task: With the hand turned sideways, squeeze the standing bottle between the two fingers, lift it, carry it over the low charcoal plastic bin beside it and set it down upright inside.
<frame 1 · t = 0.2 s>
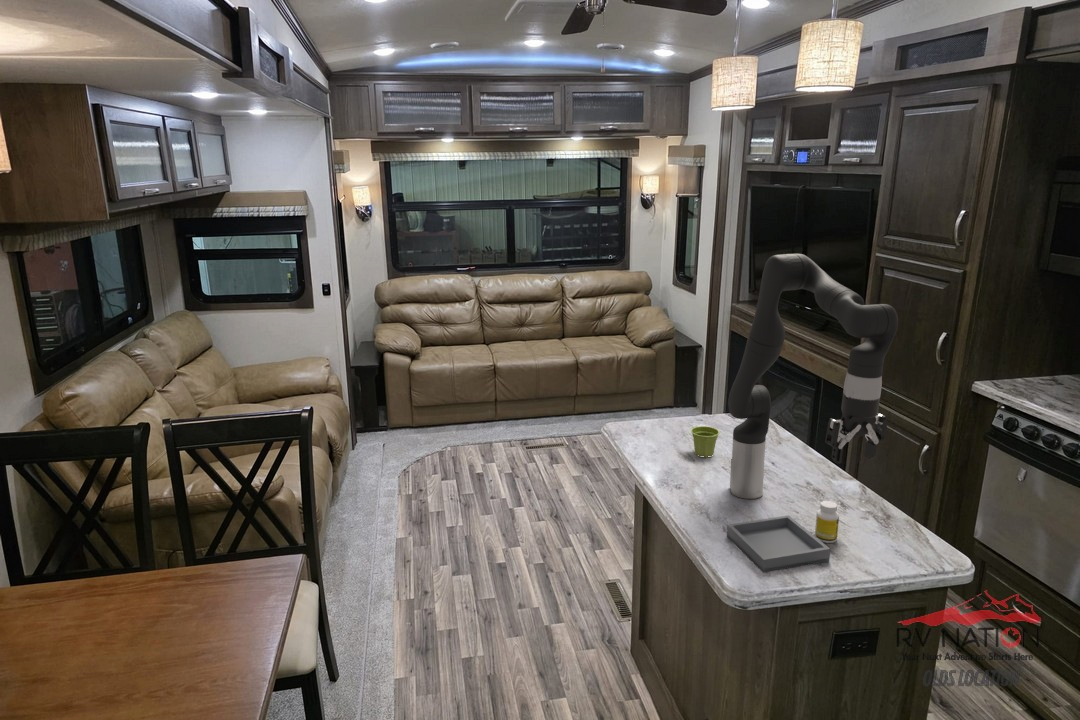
hand: (852, 459, 159), 29 cm above the table, tool pointing down, fingers open, 8 cm apart
plant pot: (704, 455, 237), on the table
supplement bottle: (825, 539, 182), on the table
bin: (776, 548, 178), on the table
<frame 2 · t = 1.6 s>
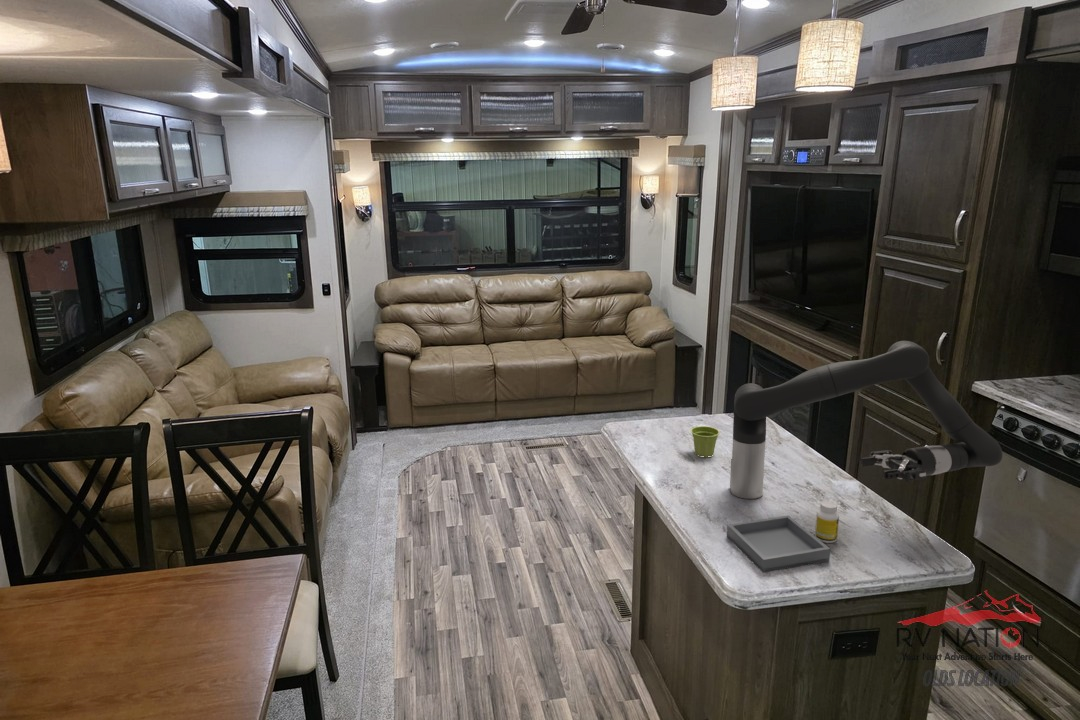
hand: (872, 468, 179), 18 cm above the table, tool horizontal, fingers open, 8 cm apart
nothing on the table moved.
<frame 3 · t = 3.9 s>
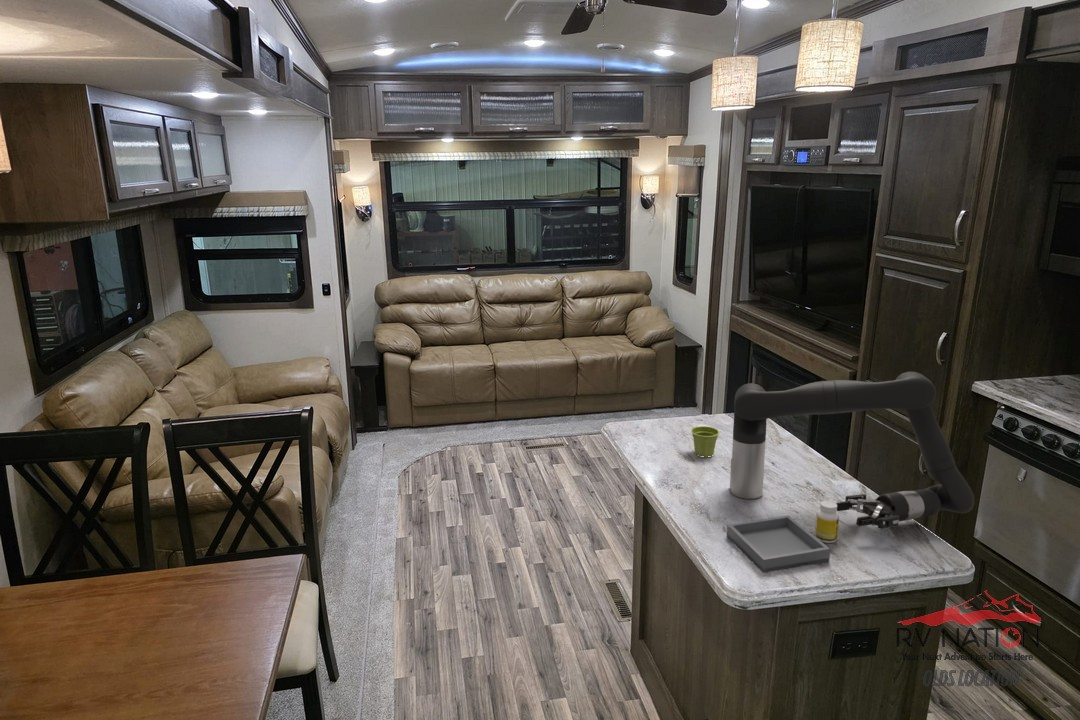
hand: (846, 514, 181), 6 cm above the table, tool horizontal, fingers open, 8 cm apart
nothing on the table moved.
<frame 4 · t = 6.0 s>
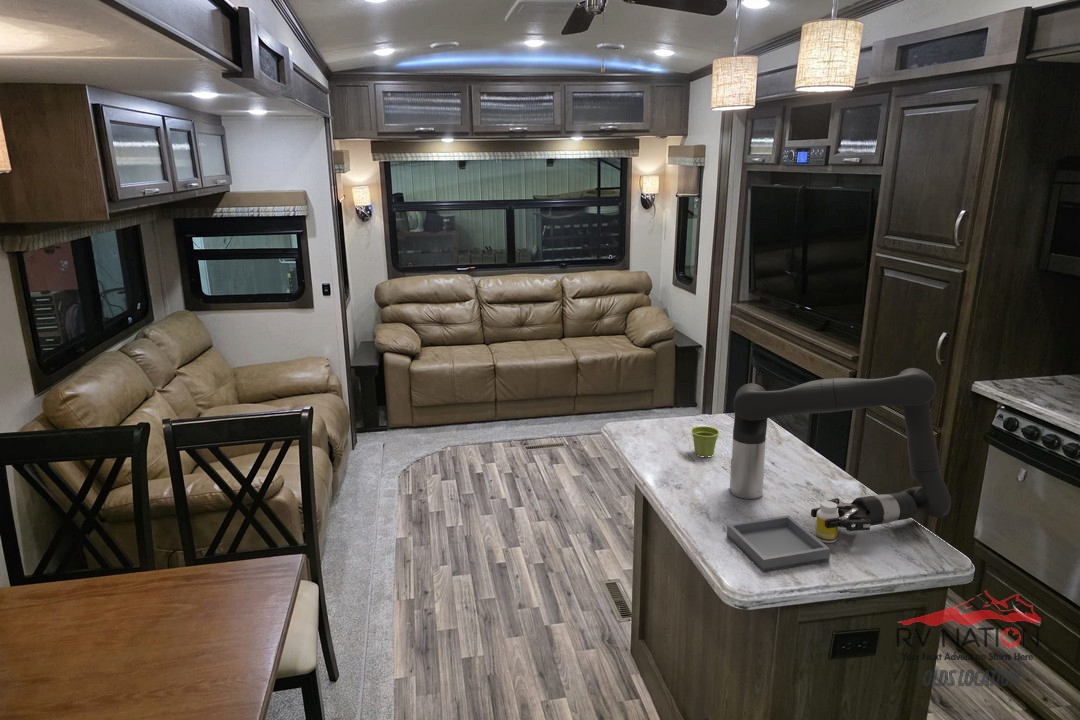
hand: (818, 518, 180), 6 cm above the table, tool horizontal, fingers closed on supplement bottle, 5 cm apart
supplement bottle: (825, 539, 182), on the table, touching gripper
everything else where it was.
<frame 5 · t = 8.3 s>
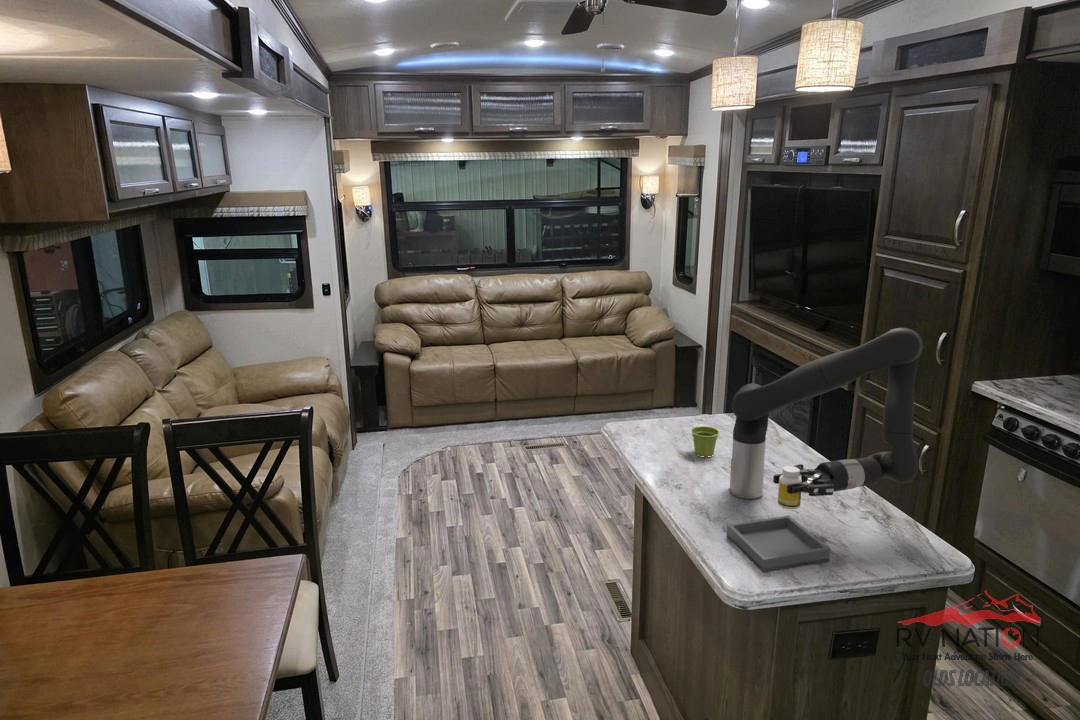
hand: (781, 484, 173), 18 cm above the table, tool horizontal, fingers closed on supplement bottle, 5 cm apart
supplement bottle: (788, 505, 175), point 11 cm above the table, touching gripper
everything else where it was.
when the fingers open (9 cm above the table, at t = 10.7 s): supplement bottle drops 2 cm, resting on bin.
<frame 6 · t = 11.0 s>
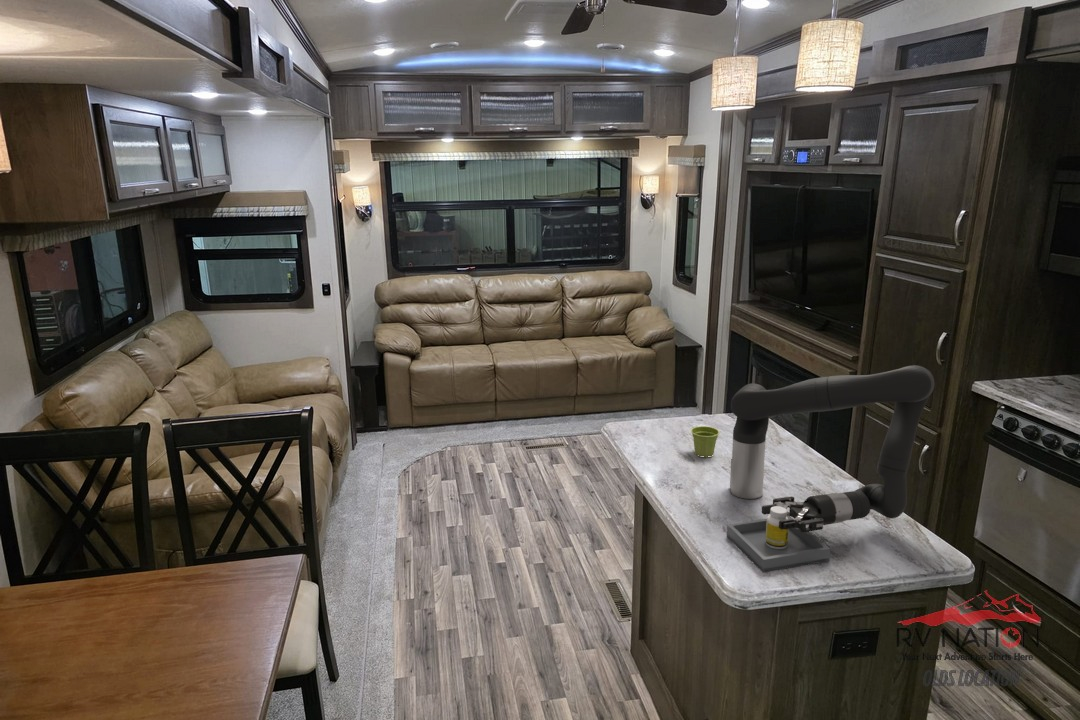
hand: (770, 517, 175), 9 cm above the table, tool horizontal, fingers open, 7 cm apart
supplement bottle: (776, 545, 178), point 1 cm above the table, touching bin
everything else where it was.
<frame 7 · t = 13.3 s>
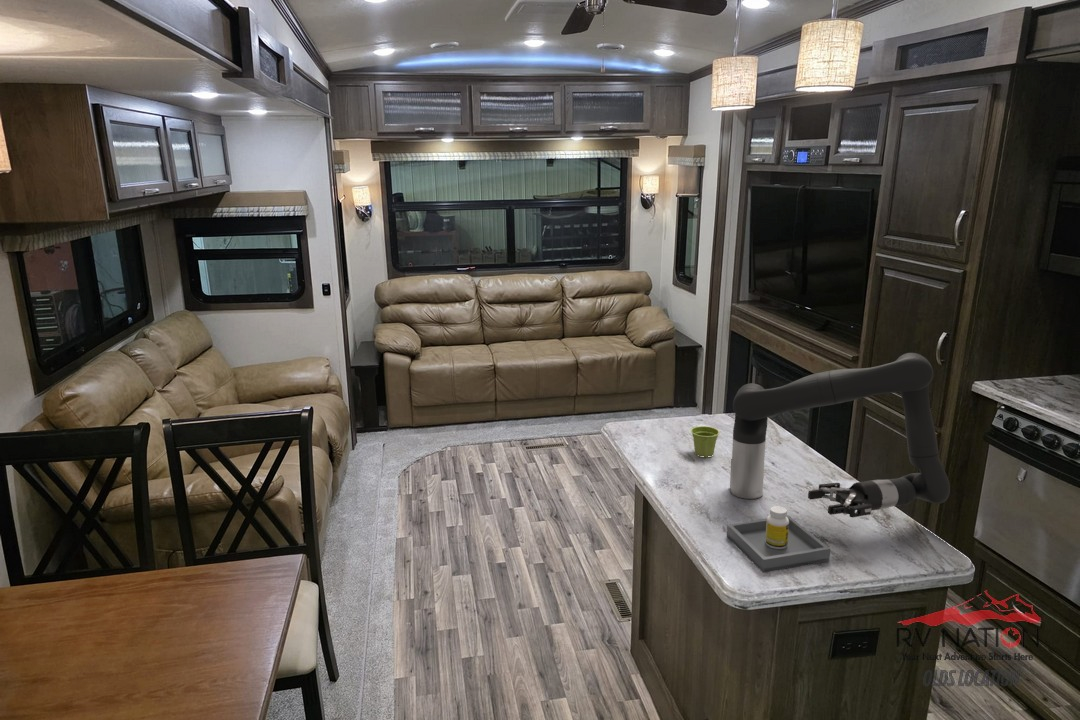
hand: (818, 502, 178), 11 cm above the table, tool horizontal, fingers open, 8 cm apart
nothing on the table moved.
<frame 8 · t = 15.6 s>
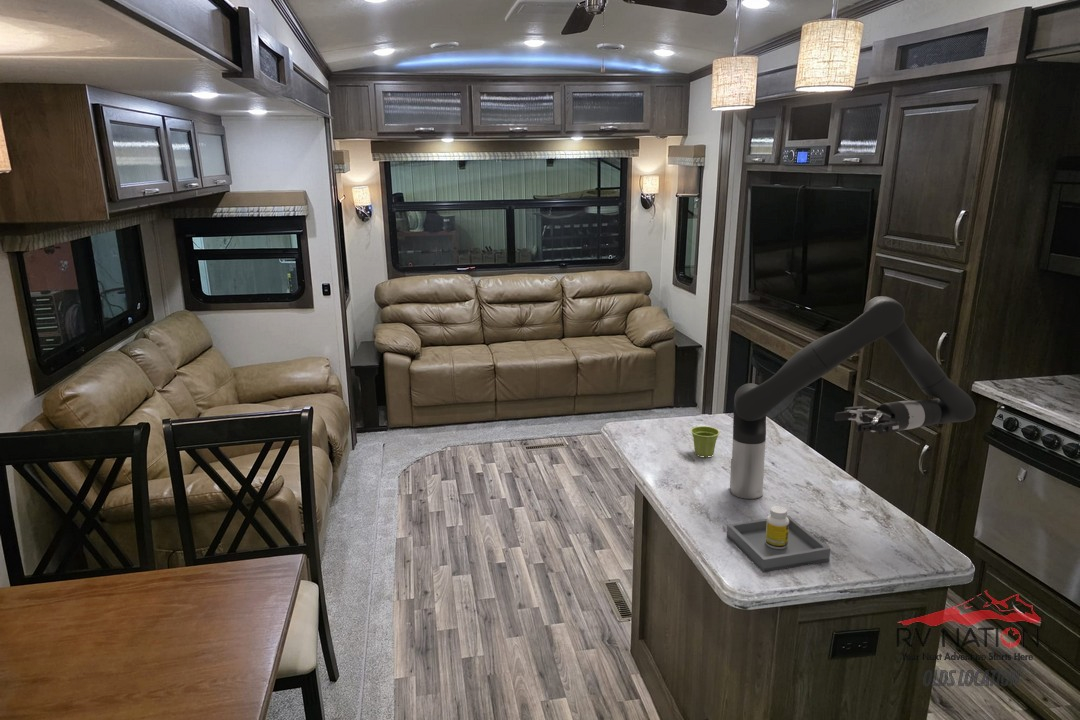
hand: (846, 422, 179), 30 cm above the table, tool horizontal, fingers open, 8 cm apart
nothing on the table moved.
at the end: supplement bottle inside the target area on the bin (0.2 cm from its centre), point 0.8 cm above the bin's base; supplement bottle tilted 0°; the gripper is holding nothing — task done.
